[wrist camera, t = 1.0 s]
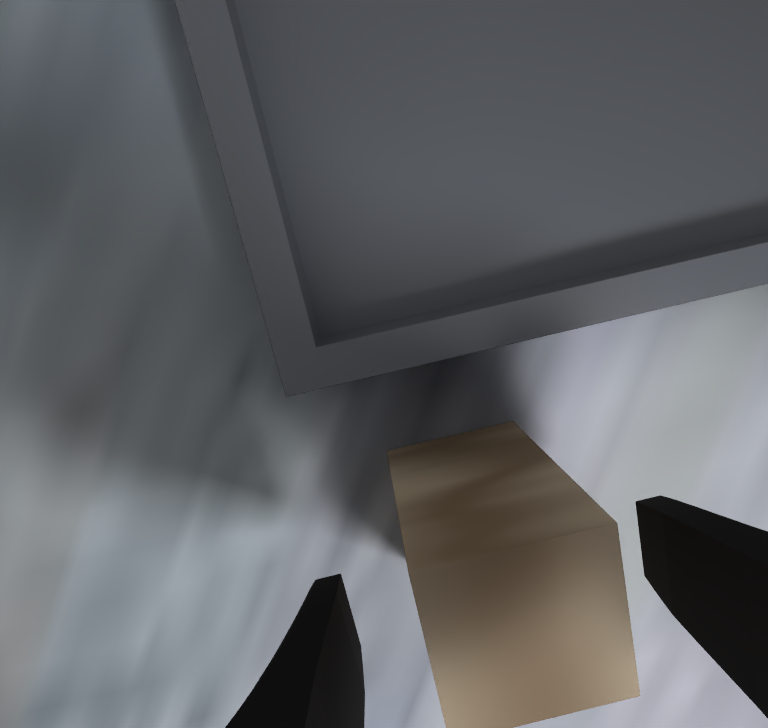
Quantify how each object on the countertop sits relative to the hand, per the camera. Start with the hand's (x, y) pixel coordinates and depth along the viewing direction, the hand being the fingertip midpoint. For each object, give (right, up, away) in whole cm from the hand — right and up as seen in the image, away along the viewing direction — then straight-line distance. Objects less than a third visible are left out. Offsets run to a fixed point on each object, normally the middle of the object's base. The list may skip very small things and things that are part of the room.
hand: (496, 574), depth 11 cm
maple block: (0, +1, +4) cm, 4 cm away
